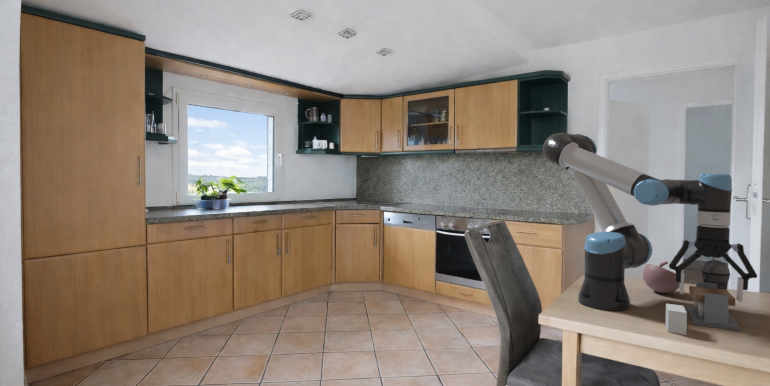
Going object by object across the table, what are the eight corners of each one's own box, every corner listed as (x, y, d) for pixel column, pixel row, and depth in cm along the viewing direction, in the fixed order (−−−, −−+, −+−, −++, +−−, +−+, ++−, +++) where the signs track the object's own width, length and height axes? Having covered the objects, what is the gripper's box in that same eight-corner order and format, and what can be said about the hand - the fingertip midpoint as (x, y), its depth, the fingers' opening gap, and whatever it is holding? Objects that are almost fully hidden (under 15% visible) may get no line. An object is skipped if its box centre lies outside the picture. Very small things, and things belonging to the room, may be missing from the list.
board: (694, 301, 116) (695, 294, 116) (689, 292, 126) (689, 285, 126) (735, 306, 112) (735, 299, 112) (726, 296, 121) (726, 289, 121)
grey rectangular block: (667, 332, 108) (668, 310, 108) (665, 324, 114) (665, 303, 114) (686, 335, 106) (686, 312, 106) (682, 326, 112) (683, 305, 112)
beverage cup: (734, 312, 124) (737, 248, 124) (708, 311, 126) (710, 248, 125) (720, 305, 132) (722, 245, 131) (695, 304, 133) (697, 244, 132)
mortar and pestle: (690, 296, 142) (691, 264, 142) (663, 298, 139) (664, 265, 139) (660, 287, 154) (661, 257, 153) (634, 289, 151) (635, 259, 151)
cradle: (693, 324, 114) (694, 293, 114) (685, 307, 129) (686, 280, 129) (739, 331, 109) (740, 298, 109) (725, 313, 124) (726, 284, 124)
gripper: (663, 224, 121) (659, 293, 122) (774, 230, 109) (769, 307, 110) (660, 221, 128) (658, 287, 129) (765, 227, 115) (761, 300, 116)
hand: (709, 296), depth 119 cm, fingers open, 13 cm apart
